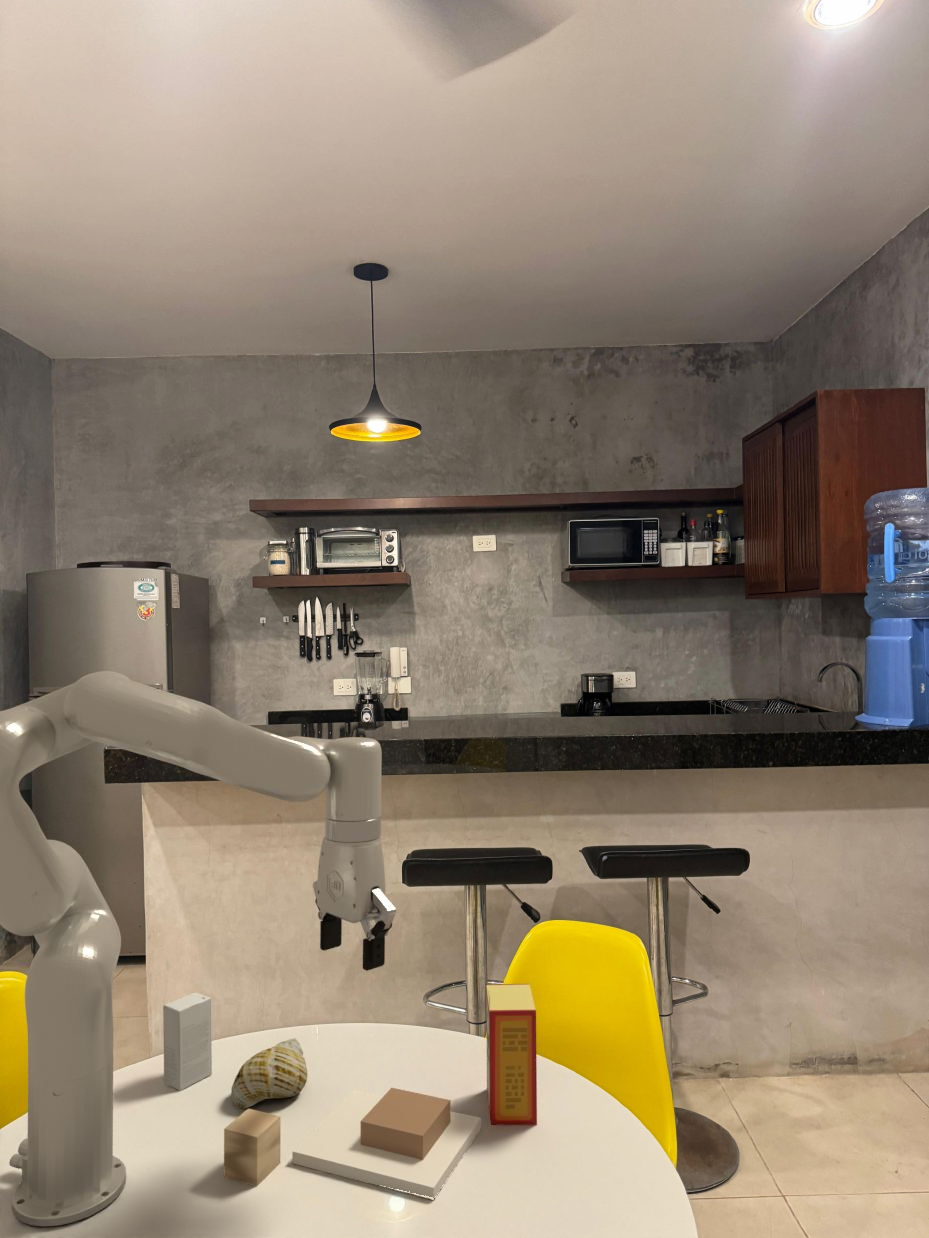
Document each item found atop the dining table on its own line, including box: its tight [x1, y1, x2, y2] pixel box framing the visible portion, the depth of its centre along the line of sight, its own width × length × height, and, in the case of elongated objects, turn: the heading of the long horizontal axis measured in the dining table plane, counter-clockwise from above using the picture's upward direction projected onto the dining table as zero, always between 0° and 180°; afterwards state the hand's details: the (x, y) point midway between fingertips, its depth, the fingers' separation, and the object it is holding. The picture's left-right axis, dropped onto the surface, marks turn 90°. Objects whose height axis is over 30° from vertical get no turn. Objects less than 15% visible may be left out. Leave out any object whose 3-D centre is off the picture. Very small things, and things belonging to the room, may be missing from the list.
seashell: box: [231, 1038, 308, 1110], centre depth 125 cm, size 10×10×10 cm
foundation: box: [291, 1087, 482, 1198], centre depth 112 cm, size 20×16×4 cm
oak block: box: [223, 1108, 281, 1187], centre depth 107 cm, size 5×5×6 cm
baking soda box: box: [485, 983, 538, 1126], centre depth 122 cm, size 10×6×16 cm
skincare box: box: [162, 991, 213, 1092], centre depth 130 cm, size 6×4×12 cm
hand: (351, 957), depth 113 cm, fingers open, 9 cm apart
